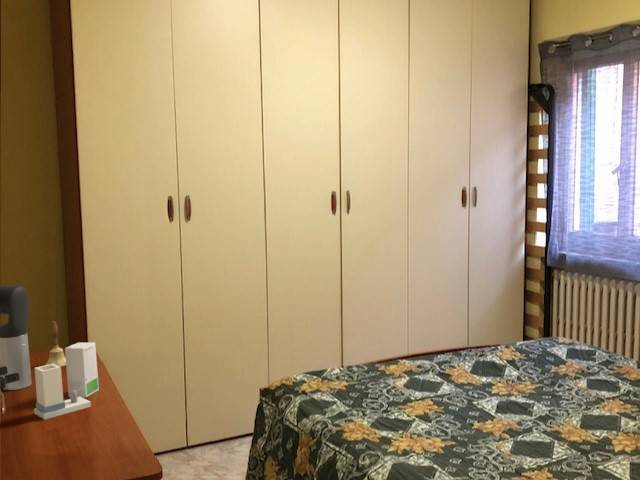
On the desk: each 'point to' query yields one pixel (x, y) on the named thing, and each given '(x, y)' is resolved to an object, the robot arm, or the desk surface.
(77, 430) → the desk surface
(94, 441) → the desk surface
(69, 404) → the pin board
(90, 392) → the skincare box
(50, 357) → the hand bell
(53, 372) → the sleeve
